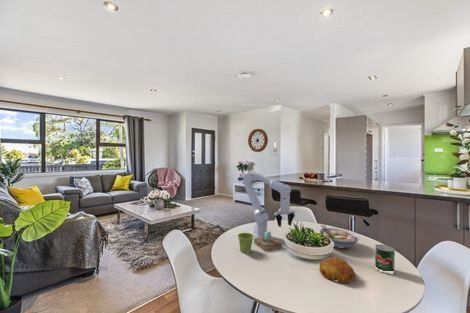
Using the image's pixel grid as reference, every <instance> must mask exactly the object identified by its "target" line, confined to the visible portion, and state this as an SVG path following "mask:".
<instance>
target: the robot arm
mask: <svg viewBox="0 0 470 313" xmlns="http://www.w3.org/2000/svg"><path fill="white" fill-rule="evenodd" d="M243 180H244V190H245V191H246V194H247V196H248V198H249V200H250V203H251V206H252V208H253V210H254V212H253V216H254V221H255V222H254V224H253V233H252V234H253V235H254V237H255V238H259V237H265V232H266V231H268V220H269V219H270V218H269V214H268V212H266V209H264V207H262V204H261V202H260V200H259V197H258V195H257V193H256V190H255V188H254V185H255V182H257V181H260V182H262V183H265V184H267V185H269V187H270V188H271V189H273V190H274V191H277V192H278V193H279V194H280V208H279V210H277V211H274V213H273V214H274V217H275V219H276V221H277V226H278V228H279V227H280V228H281V227H282V220H283V216H282V215H284V216H285V215H287V225H288V226H292V223H293V220H294V218H295V217H296V215H295V214H296V210H294V209H290V207H291V206H290V205H291V203H290V202H291V200H290V199H291V194H290V193H291V192H292V188H291V186H290V185H289V184H285V183H284V182H280V181H279V180H278V179H273V180H272V179H270V178H269V177H267V176H265V175H263V174H262V173H260V172H256V171H250V172H249V171H248V172H246V173H245V174H244V176H243Z"/></svg>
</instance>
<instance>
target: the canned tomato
mask: <svg viewBox="0 0 470 313" xmlns="http://www.w3.org/2000/svg"><path fill="white" fill-rule="evenodd" d="M374 251H375V253H374V254H375V255H374V256H375V257H374V261H375V262H374V267H375V266H376V267H377V268H378V269H381V270H383V271H394V272H395V258H396V257H395V252H396V249H395V248H394V247H392V246H390V245H386V244H376V245H375V250H374Z"/></svg>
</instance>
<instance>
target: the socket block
mask: <svg viewBox="0 0 470 313" xmlns="http://www.w3.org/2000/svg"><path fill="white" fill-rule="evenodd" d="M253 244H254V245H255V246H257V247H259V248H260V249H261V250H262V251H263V252H265V251H266V252H267V251H271V250H277V249H282V242H281V241H280V240H278V239H276V238H275V237H273V236H272V235H271V242H267V243H266V242H265V237H259V238H257V237H254V238H253Z"/></svg>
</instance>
